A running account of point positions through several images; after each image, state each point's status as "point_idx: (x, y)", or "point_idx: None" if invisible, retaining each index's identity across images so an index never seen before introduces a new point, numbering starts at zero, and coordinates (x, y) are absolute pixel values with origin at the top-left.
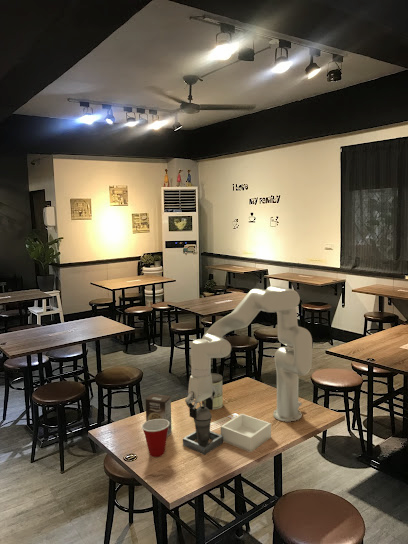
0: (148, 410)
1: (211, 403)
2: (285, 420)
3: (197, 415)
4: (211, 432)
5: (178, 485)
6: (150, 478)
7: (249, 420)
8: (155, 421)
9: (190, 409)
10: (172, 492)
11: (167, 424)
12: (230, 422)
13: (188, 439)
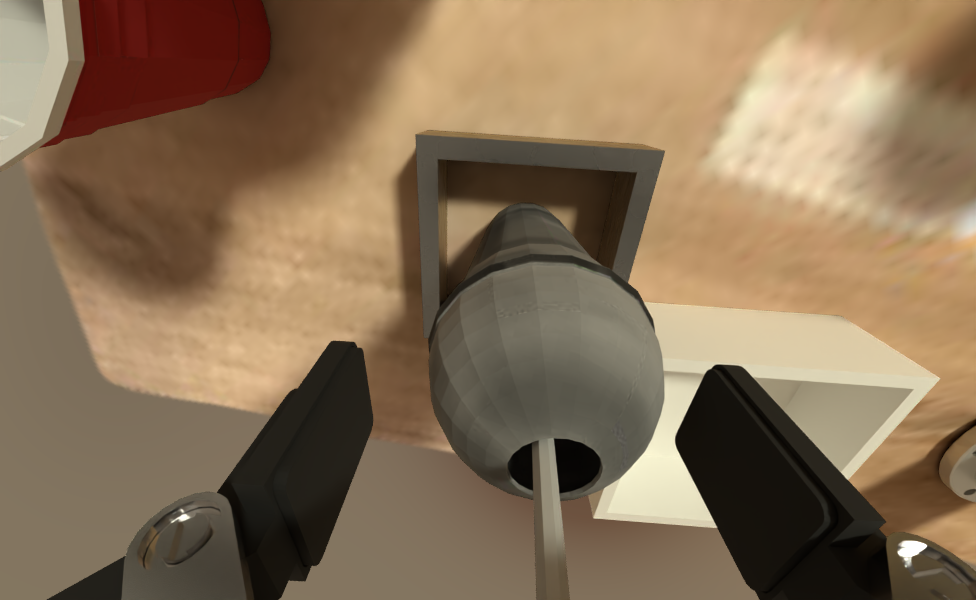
0: None
1: (727, 544)
2: (948, 466)
3: (433, 398)
4: (617, 269)
5: (179, 350)
6: (65, 213)
7: (848, 416)
8: None
9: (233, 491)
10: (134, 357)
11: (86, 45)
12: (750, 373)
13: (433, 188)
